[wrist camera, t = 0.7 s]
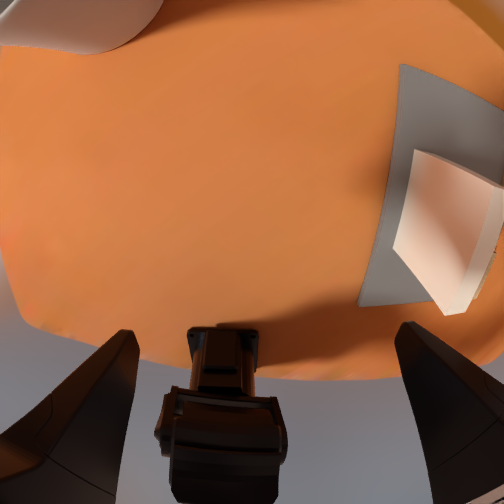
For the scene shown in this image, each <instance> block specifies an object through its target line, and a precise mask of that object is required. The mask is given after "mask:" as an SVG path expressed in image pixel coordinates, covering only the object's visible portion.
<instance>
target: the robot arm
mask: <svg viewBox="0 0 504 504" xmlns="http://www.w3.org/2000/svg"><path fill="white" fill-rule="evenodd" d="M187 339H188V344H189V349H190V354H191V358H192V363H193V364H192V372H191V379H190V387H189V389H184V388H178V386H172V388H171V392H170V393H168V394H165V395H164V400H163V406H162V410H161V413H160V416H159V420H158V422H157V425H156V427H155V431H154V436H155V437H156V439H157V440H158V441H159V442H160V447H161V454H162V456H164V457H170V469H169V484H170V486H171V491H172V493H173V495H174V497H175V499H176V500H177V502H178V503H182V504H273V503H274V502H275V500H276V499H277V497H278V479H279V467H280V465H282V464H283V463H284V461H285V458H286V454H287V448H288V438H287V431H286V428H285V424H284V421H283V417H282V414H281V410H280V407H279V403H278V400H277V397H271V396H270V397H255V382H254V373H255V372H256V367H257V354H258V339H259V334H258V331H256V330H218V329H189V330H188V331H187ZM395 348H396V352H397V356H398V360H399V364H400V369H401V373H402V377H403V381H404V384H405V388H406V391H407V394H408V397H409V400H410V403H411V407H412V410H413V414H414V417H415V421H416V424H417V428H418V432H419V436H420V440H421V444H422V448H423V452H424V456H425V461H426V465H427V470H428V476H429V481H430V487H431V492H432V498H433V504H466V503H468V502H470V501H471V503H470V504H504V384H502V383H501V382H499V381H498V380H496V379H495V378H493V377H492V376H491V375H489V374H488V373H486V372H485V371H483V370H482V369H481V368H480V367H478V366H477V365H476V364H474V363H473V362H471V361H470V360H469V359H467V358H466V357H464V356H463V355H462V354H460V353H459V352H457V351H456V350H455V349H453V348H452V347H450V346H449V345H448V344H446V343H445V342H443V341H442V340H440V339H439V338H438V337H436V336H435V335H433V334H432V333H430V332H429V331H427V330H426V329H425V328H423V327H422V326H420V325H419V324H417V323H416V322H414V321H406V322H403V323H402V324H401V326H400V328H399V331H398V333H397V335H396V337H395ZM139 355H140V348H139V345H138V342H137V340H136V337H135V334H134V332H133V331H132V330H126V329H121V330H119V331H118V332H117V333H116V334H115V335H114V336H112V337H111V338H110V339H109V340H108V341H107V342H106V343H105V344H103V345H102V346H101V347H100V348H99V349H98V350H97V351H96V352H94V353H93V354H92V355H91V356H90V357H89V358H88V359H87V360H86V361H84V362H83V363H82V364H81V365H80V366H79V367H78V368H77V369H76V370H75V371H74V372H72V373H71V374H70V375H69V376H68V377H67V378H66V379H65V380H64V381H63V382H62V383H61V384H59V385H58V386H57V387H56V388H55V389H54V390H53V391H52V393H50V394H49V395H48V396H47V397H45V398H44V400H42V401H41V402H40V403H39V404H38V405H37V406H36V407H34V408H33V409H32V410H31V411H30V412H28V413H27V414H26V415H25V416H24V417H22V418H21V419H20V420H19V421H17V422H16V423H14V424H13V425H12V426H11V427H9V428H8V429H7V430H6V431H4V432H3V433H2V434H0V504H115V501H116V492H117V484H118V477H119V470H120V464H121V458H122V453H123V446H124V441H125V436H126V431H127V426H128V421H129V417H130V411H131V407H132V403H133V398H134V393H135V387H136V378H137V369H138V362H139Z"/></svg>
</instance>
